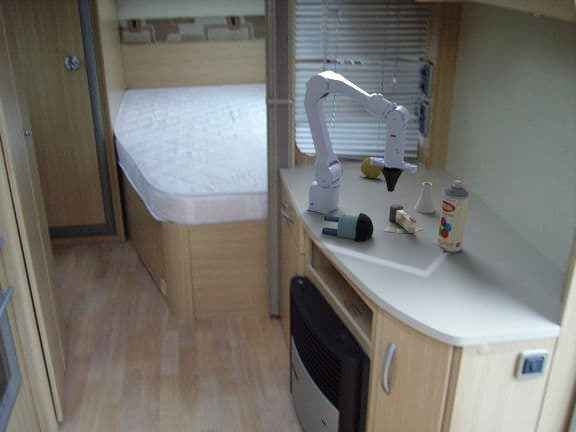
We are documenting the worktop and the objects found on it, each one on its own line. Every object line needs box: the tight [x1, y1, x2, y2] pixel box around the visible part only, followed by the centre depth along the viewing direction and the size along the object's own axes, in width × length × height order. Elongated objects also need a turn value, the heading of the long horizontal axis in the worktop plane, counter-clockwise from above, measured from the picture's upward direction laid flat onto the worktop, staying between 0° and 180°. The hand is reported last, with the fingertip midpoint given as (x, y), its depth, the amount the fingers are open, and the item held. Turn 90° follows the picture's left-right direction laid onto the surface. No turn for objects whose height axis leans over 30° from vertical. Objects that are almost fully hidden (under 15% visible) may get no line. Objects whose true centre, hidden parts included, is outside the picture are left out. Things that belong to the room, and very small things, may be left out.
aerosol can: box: [437, 179, 470, 255], centre depth 165 cm, size 7×7×20 cm
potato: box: [360, 156, 384, 179], centre depth 225 cm, size 7×8×8 cm
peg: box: [388, 204, 417, 234], centre depth 179 cm, size 14×4×5 cm, turn 16°
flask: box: [413, 181, 435, 214], centre depth 192 cm, size 7×7×10 cm
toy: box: [322, 212, 375, 243], centre depth 172 cm, size 8×9×15 cm
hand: (390, 190), depth 182 cm, fingers closed
